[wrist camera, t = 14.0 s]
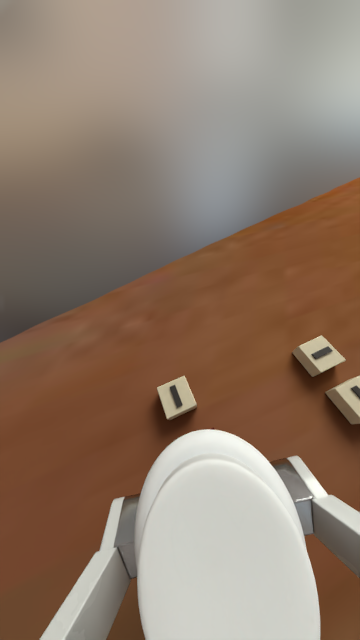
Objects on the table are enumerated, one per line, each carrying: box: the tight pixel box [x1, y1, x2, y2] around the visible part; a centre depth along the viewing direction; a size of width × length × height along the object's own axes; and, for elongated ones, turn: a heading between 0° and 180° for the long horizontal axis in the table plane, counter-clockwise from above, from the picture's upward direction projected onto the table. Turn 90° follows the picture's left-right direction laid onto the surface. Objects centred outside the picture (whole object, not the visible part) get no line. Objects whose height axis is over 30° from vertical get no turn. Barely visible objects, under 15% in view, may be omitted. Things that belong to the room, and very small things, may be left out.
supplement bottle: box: [135, 429, 320, 640], centre depth 8 cm, size 6×6×10 cm
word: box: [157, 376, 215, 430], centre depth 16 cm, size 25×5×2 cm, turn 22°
